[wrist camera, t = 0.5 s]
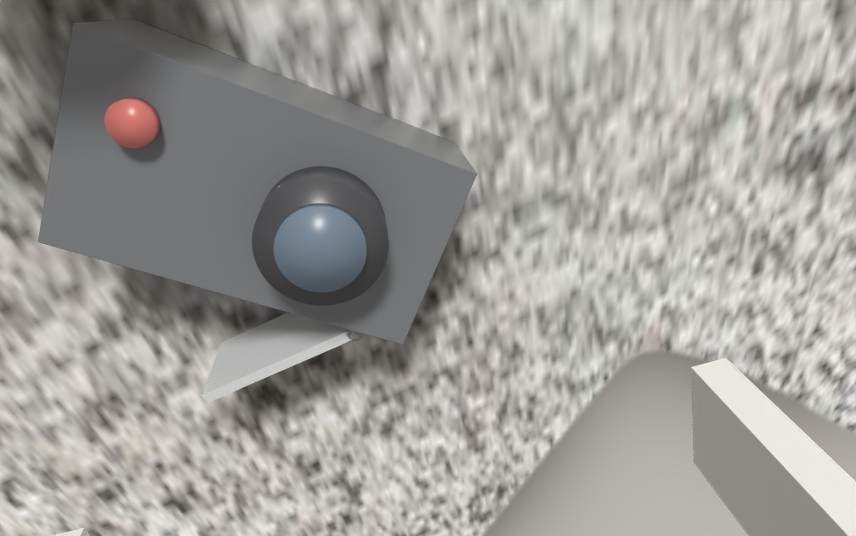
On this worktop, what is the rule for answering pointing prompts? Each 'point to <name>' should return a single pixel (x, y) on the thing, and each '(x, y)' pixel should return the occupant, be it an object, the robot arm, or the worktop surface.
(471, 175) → the camera body
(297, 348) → the side door
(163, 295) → the worktop surface
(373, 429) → the worktop surface
